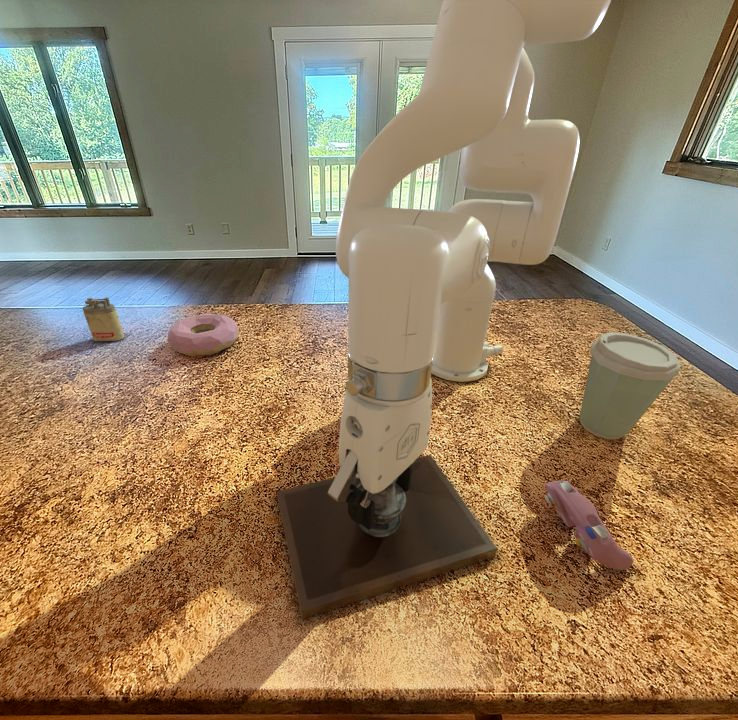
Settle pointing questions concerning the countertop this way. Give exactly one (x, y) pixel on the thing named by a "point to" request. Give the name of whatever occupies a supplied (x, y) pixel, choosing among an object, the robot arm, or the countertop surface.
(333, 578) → the board
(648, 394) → the disposable coffee cup
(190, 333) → the donut
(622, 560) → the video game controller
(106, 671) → the countertop surface
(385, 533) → the stone chess piece
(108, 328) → the lighter
